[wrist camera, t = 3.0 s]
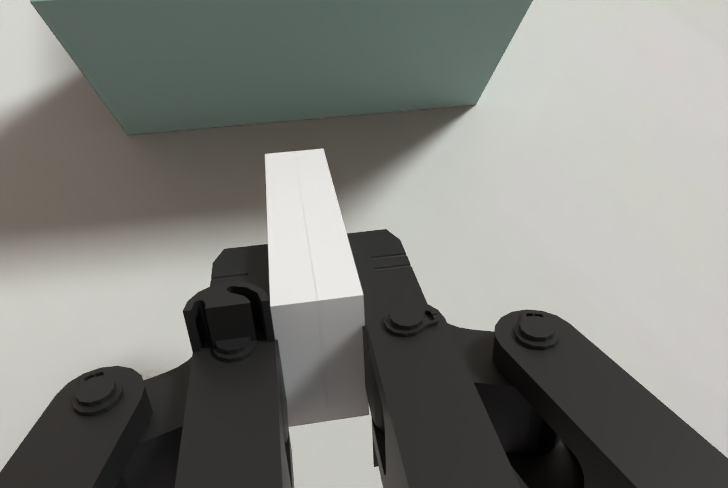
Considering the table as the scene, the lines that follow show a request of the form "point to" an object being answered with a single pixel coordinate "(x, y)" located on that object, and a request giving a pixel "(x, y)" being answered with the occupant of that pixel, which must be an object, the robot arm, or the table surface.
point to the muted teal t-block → (280, 56)
